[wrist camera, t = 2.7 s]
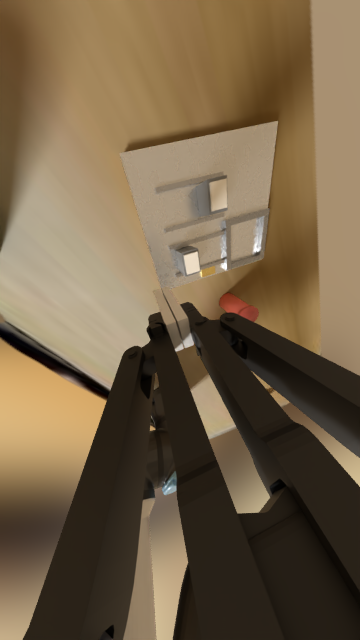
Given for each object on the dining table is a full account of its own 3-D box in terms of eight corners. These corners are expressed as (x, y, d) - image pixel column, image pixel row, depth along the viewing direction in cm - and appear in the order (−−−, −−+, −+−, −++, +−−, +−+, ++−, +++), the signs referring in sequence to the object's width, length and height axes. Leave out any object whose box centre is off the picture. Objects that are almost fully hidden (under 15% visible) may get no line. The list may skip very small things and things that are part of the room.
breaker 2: (199, 216, 25) (210, 215, 21) (196, 186, 23) (208, 178, 19) (215, 212, 25) (228, 210, 22) (213, 182, 23) (228, 173, 19)
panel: (160, 288, 32) (163, 293, 30) (120, 159, 20) (119, 149, 18) (255, 257, 35) (265, 260, 32) (267, 128, 23) (283, 116, 21)
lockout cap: (218, 311, 40) (238, 329, 33) (217, 295, 37) (238, 311, 30) (234, 305, 41) (257, 322, 33) (234, 289, 38) (259, 304, 30)
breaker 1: (179, 271, 29) (186, 277, 25) (174, 250, 27) (181, 253, 23) (193, 267, 29) (201, 272, 26) (190, 245, 27) (198, 248, 23)
